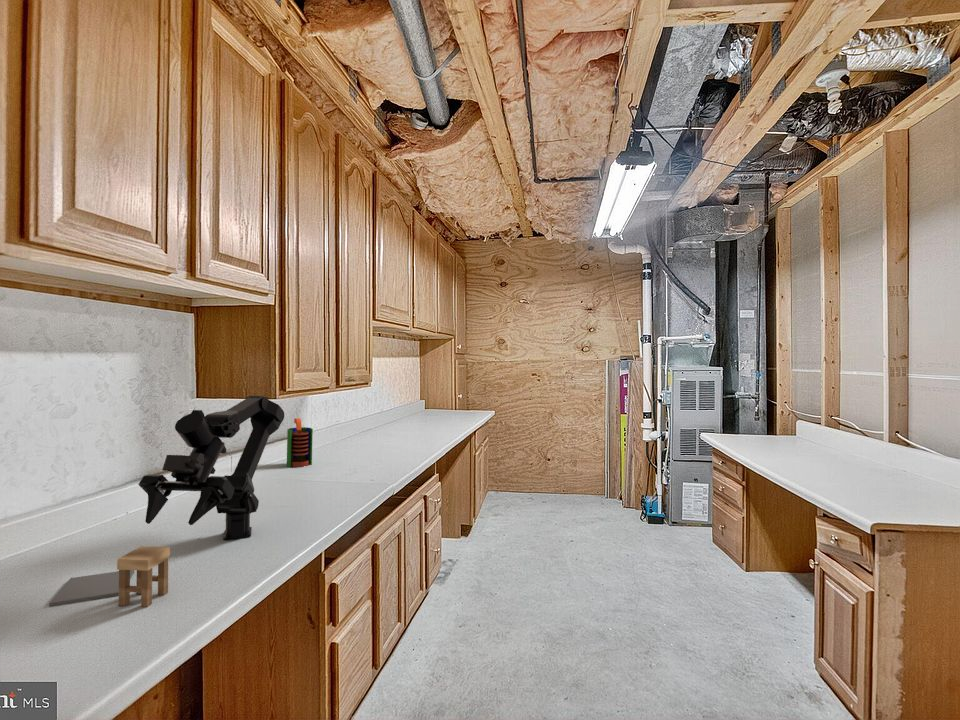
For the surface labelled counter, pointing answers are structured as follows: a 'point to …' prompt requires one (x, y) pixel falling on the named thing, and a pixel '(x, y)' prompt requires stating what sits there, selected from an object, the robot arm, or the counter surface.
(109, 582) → the mat
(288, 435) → the motor
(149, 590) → the stool
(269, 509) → the counter surface
